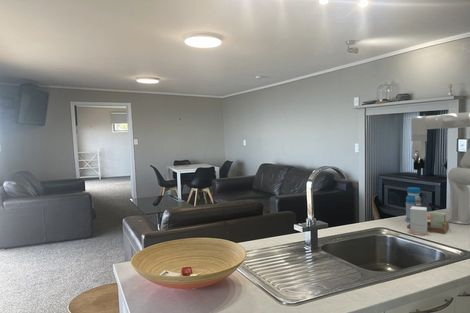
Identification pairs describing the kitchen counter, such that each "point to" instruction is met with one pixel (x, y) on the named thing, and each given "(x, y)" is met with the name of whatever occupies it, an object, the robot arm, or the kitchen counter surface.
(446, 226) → the rack
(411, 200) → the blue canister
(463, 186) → the robot arm
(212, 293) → the kitchen counter surface
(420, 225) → the supplement box
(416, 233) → the coaster
